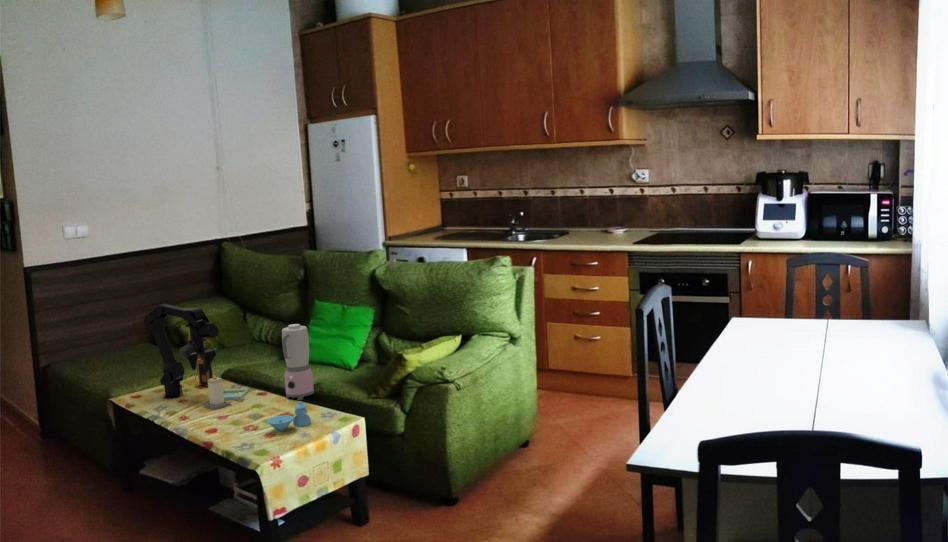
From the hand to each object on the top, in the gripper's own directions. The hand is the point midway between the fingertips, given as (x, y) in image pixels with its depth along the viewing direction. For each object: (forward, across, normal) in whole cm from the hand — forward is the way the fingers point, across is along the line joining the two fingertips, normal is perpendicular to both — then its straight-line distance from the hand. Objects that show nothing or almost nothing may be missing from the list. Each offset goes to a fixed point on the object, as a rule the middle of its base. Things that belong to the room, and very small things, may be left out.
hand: (200, 371), depth 364 cm
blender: (+13, +38, +23) cm, 46 cm away
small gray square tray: (+13, +17, -4) cm, 21 cm away
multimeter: (+13, -19, +18) cm, 29 cm away
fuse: (+12, +17, -4) cm, 21 cm away
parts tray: (+13, +10, +8) cm, 18 cm away
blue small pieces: (+13, +68, -8) cm, 69 cm away
